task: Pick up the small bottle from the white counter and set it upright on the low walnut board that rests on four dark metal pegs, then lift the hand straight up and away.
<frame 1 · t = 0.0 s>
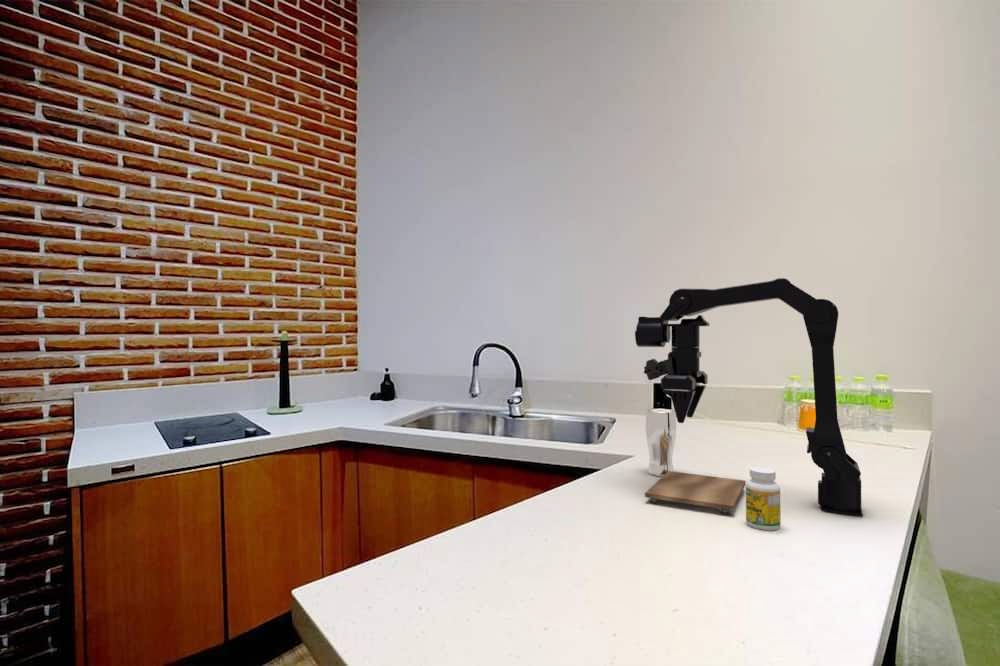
hand: (685, 419, 116), 15 cm above the counter, fingers open, 9 cm apart
beer glass: (660, 474, 129), on the counter
supplement bottle: (762, 526, 93), on the counter
peg shelf: (697, 496, 110), on the counter
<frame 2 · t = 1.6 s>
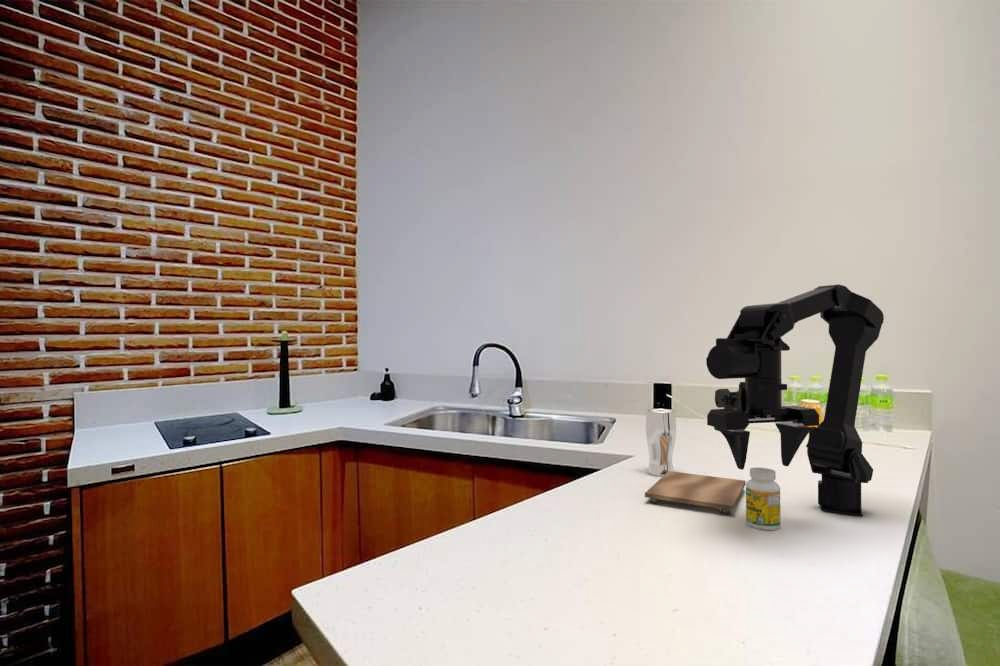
hand: (763, 467, 93), 10 cm above the counter, fingers open, 9 cm apart
nothing on the counter moved.
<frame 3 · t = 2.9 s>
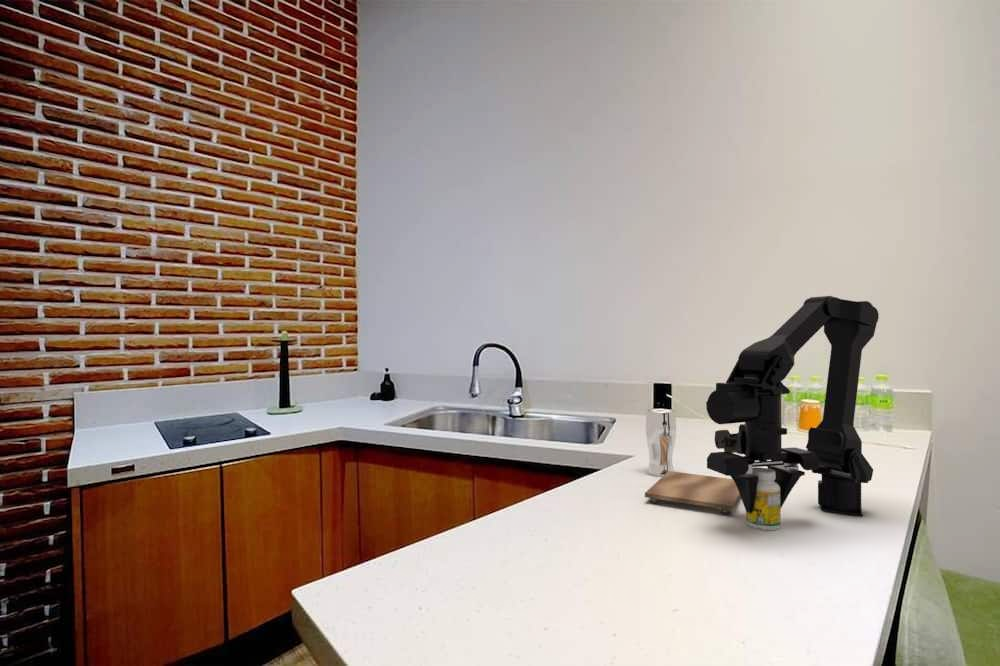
hand: (762, 510, 93), 3 cm above the counter, fingers closed on supplement bottle, 5 cm apart
supplement bottle: (762, 526, 93), on the counter, touching gripper
everything else where it was.
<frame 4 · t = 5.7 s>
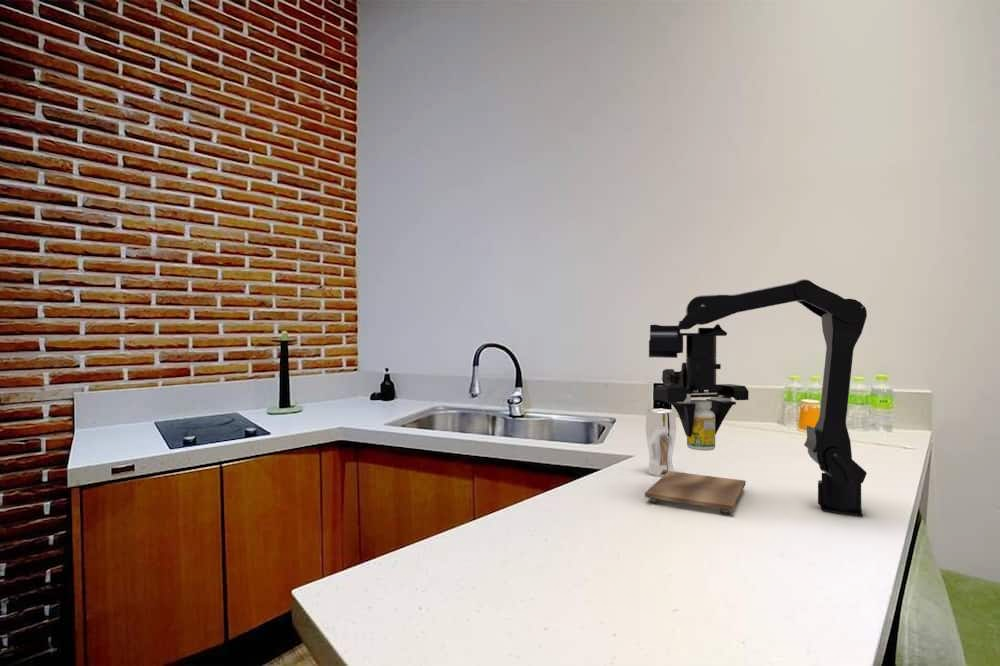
hand: (700, 435, 109), 13 cm above the counter, fingers closed on supplement bottle, 5 cm apart
supplement bottle: (700, 449, 109), point 10 cm above the counter, touching gripper
everything else where it was.
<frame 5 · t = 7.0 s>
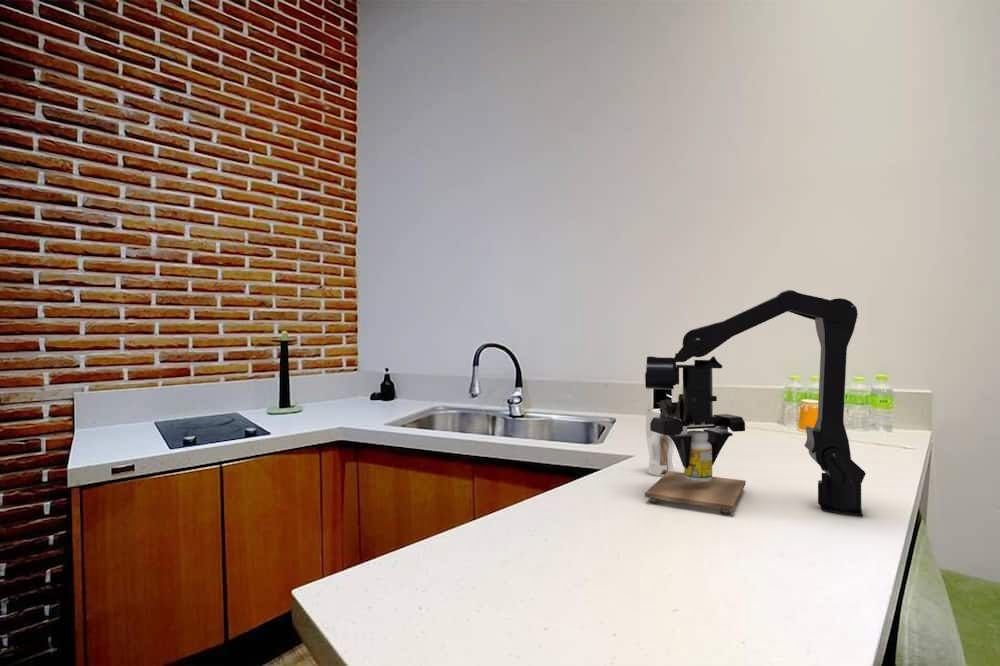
hand: (697, 466, 110), 6 cm above the counter, fingers closed on supplement bottle, 5 cm apart
supplement bottle: (698, 479, 110), point 3 cm above the counter, touching gripper
everything else where it was.
when the fingers open (5 cm above the counter, at t = 8.0 s): supplement bottle stays where it is, resting on peg shelf.
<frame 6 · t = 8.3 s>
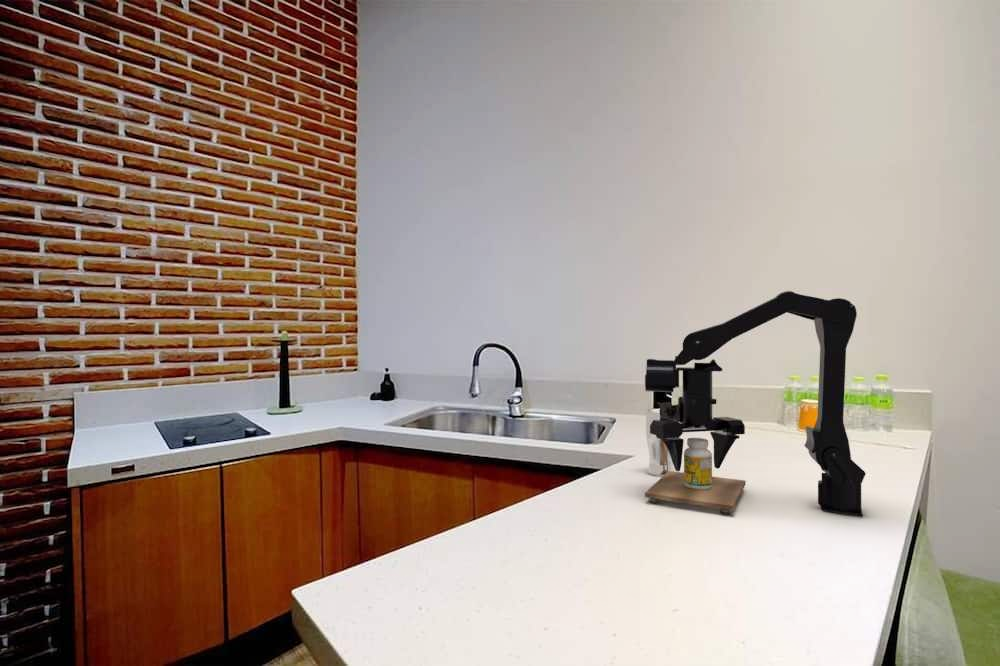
hand: (697, 469, 110), 5 cm above the counter, fingers open, 9 cm apart
supplement bottle: (697, 487, 110), point 2 cm above the counter, touching peg shelf
everything else where it was.
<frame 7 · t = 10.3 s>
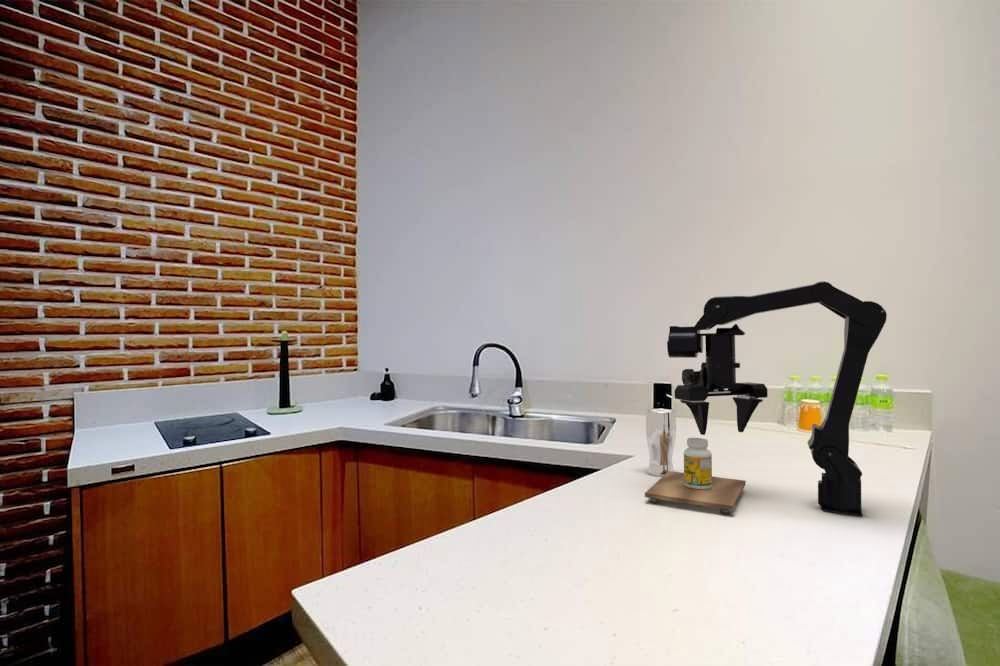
hand: (721, 433, 112), 13 cm above the counter, fingers open, 9 cm apart
nothing on the counter moved.
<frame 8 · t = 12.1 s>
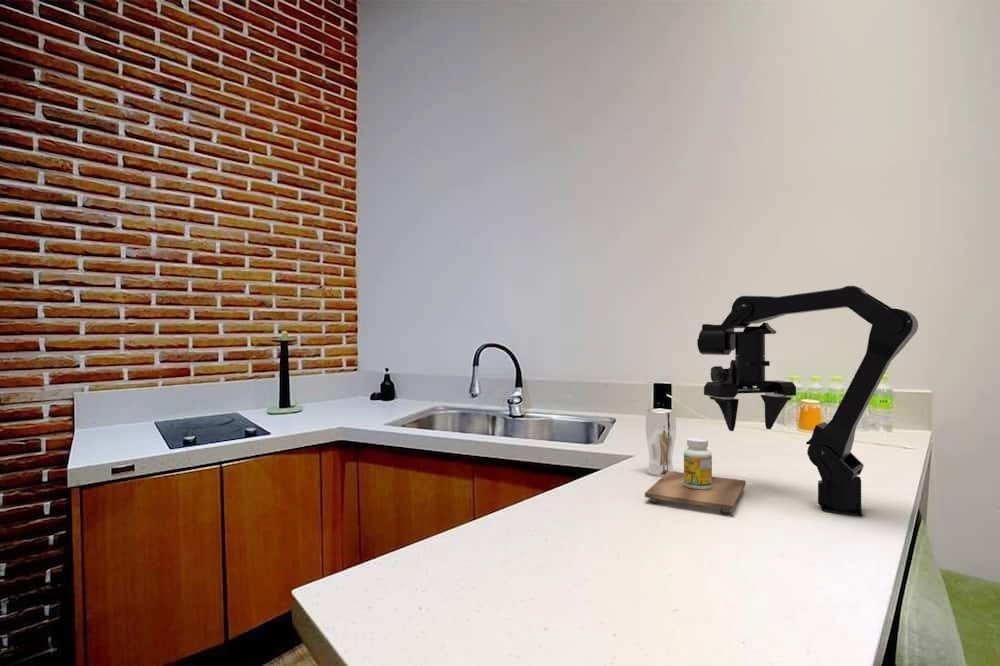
hand: (750, 429, 114), 13 cm above the counter, fingers open, 9 cm apart
nothing on the counter moved.
at the end: supplement bottle inside the target area on the peg shelf (0.1 cm from its centre), point 1.8 cm above the peg shelf's base; supplement bottle tilted 0°; the gripper is holding nothing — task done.
